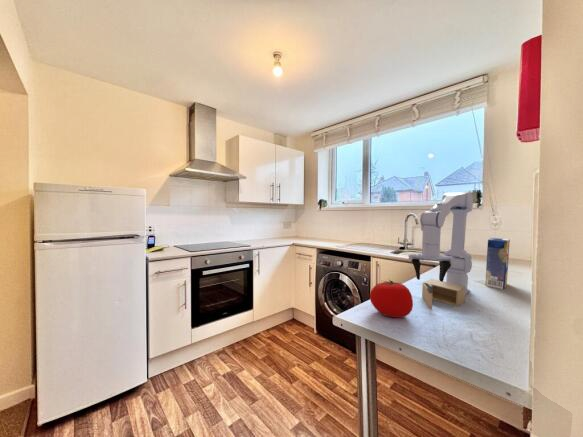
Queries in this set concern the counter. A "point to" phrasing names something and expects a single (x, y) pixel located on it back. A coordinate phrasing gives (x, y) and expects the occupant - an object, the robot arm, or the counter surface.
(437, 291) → the carton
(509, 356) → the counter surface
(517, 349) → the counter surface
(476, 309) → the counter surface
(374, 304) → the tomato
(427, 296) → the carton flap
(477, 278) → the counter surface
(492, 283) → the beverage box
